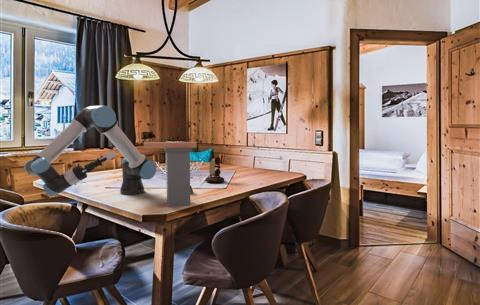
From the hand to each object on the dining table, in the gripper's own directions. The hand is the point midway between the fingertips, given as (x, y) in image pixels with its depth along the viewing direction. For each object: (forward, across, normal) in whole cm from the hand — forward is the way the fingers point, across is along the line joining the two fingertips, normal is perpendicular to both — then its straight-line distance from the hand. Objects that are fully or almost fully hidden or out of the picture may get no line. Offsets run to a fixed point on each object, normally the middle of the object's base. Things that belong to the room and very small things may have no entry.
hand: (114, 153), depth 165 cm
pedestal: (+14, 0, -42) cm, 44 cm away
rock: (+20, -26, -46) cm, 56 cm away
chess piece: (+43, -59, -59) cm, 94 cm away
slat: (+26, 0, -12) cm, 29 cm away
